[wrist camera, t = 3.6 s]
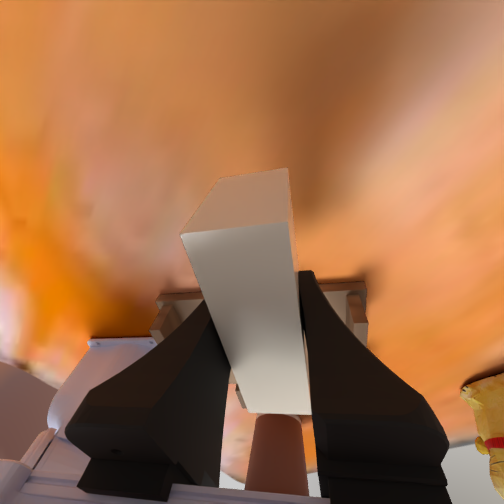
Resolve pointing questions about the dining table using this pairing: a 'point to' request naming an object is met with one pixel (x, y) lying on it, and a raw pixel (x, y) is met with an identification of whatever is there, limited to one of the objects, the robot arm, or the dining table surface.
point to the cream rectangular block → (254, 287)
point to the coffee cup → (277, 456)
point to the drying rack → (351, 313)
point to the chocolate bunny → (489, 422)
